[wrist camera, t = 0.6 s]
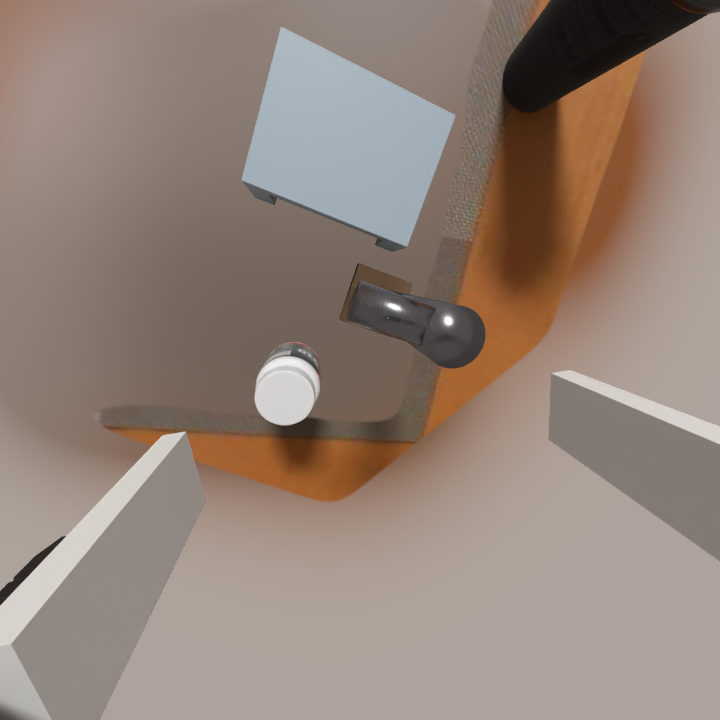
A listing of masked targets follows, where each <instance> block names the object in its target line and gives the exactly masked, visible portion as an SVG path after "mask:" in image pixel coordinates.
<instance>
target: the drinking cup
mask: <svg viewBox="0 0 720 720" xmlns="http://www.w3.org/2000/svg"><path fill="white" fill-rule="evenodd" d="M716 12H720V0H550V2H549V3H548V4H547V6H546V7H545V9H544V10H543V11H542V13H541V14H540V16H539V17H538V18H537V20H536V21H535V23H534V24H533V25H532V27H531V28H530V29H529V31H528V32H527V34H526V35H525V36H524V38H523V39H522V41H521V42H520V43H519V45H518V46H517V47H516V49H515V50H514V52H513V53H512V54H511V56H510V58H509V59H508V61H507V64H506V67H505V71H504V78H503V83H504V90H505V93H506V96H507V98H508V100H509V101H510V103H511V104H512V105H513V106H514V107H515V108H517V109H518V110H520V111H523V112H535V111H538V110H540V109H542V108H544V107H546V106H547V105H549V104H551V103H553V102H554V101H556V100H558V99H560V98H561V97H563V96H565V95H567V94H568V93H570V92H572V91H574V90H576V89H577V88H579V87H581V86H583V85H584V84H586V83H588V82H590V81H591V80H593V79H595V78H597V77H598V76H600V75H602V74H604V73H605V72H607V71H609V70H611V69H613V68H614V67H616V66H618V65H620V64H621V63H623V62H625V61H627V60H628V59H630V58H632V57H634V56H635V55H637V54H639V53H641V52H643V51H644V50H646V49H648V48H650V47H651V46H653V45H655V44H657V43H658V42H660V41H662V40H664V39H665V38H667V37H669V36H671V35H672V34H674V33H676V32H678V31H679V30H681V29H683V28H685V27H687V26H688V25H690V24H692V23H694V22H695V21H697V20H699V19H701V18H703V17H704V16H706V15H708V14H710V13H716Z"/></svg>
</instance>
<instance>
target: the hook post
mask: <svg viewBox="0 0 720 720" xmlns="http://www.w3.org/2000/svg"><path fill="white" fill-rule="evenodd" d="M411 287H412V283H409V282H406V281H404V280H401V279H398V278H396V277H393V276H390V275H388V274H385V273H383V272H380V271H378V270H375V269H372V268H370V267H367V266H364V265H362V264H357V267H356V270H355V273H354V276H353V279H352V282H351V285H350V288H349V291H348V294H347V297H346V300H345V302H344V305H343V308H342V312H341V314H340V317H339V319H340V320H342V321H345V322H348V323H351V324H354V325H357V326H360V327H363V328H366V329H369V330H372V331H375V332H378V333H380V334H384V335H387V336H389V337H395V338H398V339H401V340H404V341H406V342H408V343H409V344H411V345H412V346H413V347H414V348H416V349H417V350H419V351H420V352H421V353H423V354H424V355H425V356H427V357H428V358H429V359H431V360H432V361H433V362H435V363H436V364H438V365H439V366H442V367H445V368H459V367H463V366H465V365H467V364H469V363H470V362H472V361H473V360H474V359H475V358H476V357H477V356H478V354H479V353H480V351H481V350H482V348H483V345H484V341H485V327H484V324H483V321H482V319H481V318H480V316H479V315H478V314H477V313H476V312H475V311H473V310H472V309H470V308H468V307H464V306H460V305H455V304H450V303H446V302H441V301H437V300H432V299H428V298H423V297H418V296H413V295H409V292H410V290H411Z"/></svg>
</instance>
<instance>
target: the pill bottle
mask: <svg viewBox="0 0 720 720" xmlns="http://www.w3.org/2000/svg"><path fill="white" fill-rule="evenodd" d="M319 393H320V363H319V359H318V357H317V355H316V353H315V352H314V351H313V350H312V349H311V348H310V347H308V346H307V345H305V344H301V343H298V342H289V343H285V344H282V345H280V346H278V347H277V348H276V349H275V350H273V352H272V353H271V355H270V356H269V358H268V359H267V361H266V363H265V364H264V366H263V368H262V369H261V371H260V373H259V375H258V377H257V381H256V391H255V404H256V407H257V409H258V411H259V413H260V414H261V415H262V416H263V417H264V418H265V419H266V420H268V421H269V422H271V423H274V424H277V425H292V424H295V423H298V422H300V421H302V420H303V419H304V418H306V417H307V416H308V414H309V413H310V412H311V410H312V408H313V405H314V404H315V402H316V401H317V399H318V396H319Z"/></svg>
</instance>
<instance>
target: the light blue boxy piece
mask: <svg viewBox="0 0 720 720" xmlns="http://www.w3.org/2000/svg"><path fill="white" fill-rule="evenodd" d="M454 118H455V115H454V114H452V113H450V112H448V111H446V110H444V109H442V108H440V107H438V106H436V105H434V104H432V103H430V102H428V101H426V100H424V99H422V98H420V97H418V96H417V95H414V94H413V93H411V92H409V91H407V90H405V89H403V88H400V87H399V86H397V85H395V84H393V83H391V82H389V81H387V80H385V79H383V78H381V77H379V76H377V75H375V74H373V73H371V72H369V71H367V70H365V69H363V68H361V67H359V66H358V65H356V64H354V63H352V62H350V61H348V60H345V59H344V58H342V57H340V56H338V55H336V54H334V53H332V52H330V51H328V50H326V49H324V48H322V47H320V46H318V45H316V44H314V43H312V42H310V41H308V40H306V39H304V38H302V37H300V36H299V35H297V34H294V33H293V32H291V31H289V30H287V29H285V28H283V27H281V29H280V33H279V37H278V41H277V45H276V49H275V52H274V56H273V60H272V64H271V68H270V72H269V76H268V79H267V84H266V88H265V91H264V95H263V99H262V103H261V107H260V110H259V114H258V118H257V122H256V126H255V130H254V134H253V138H252V142H251V145H250V149H249V153H248V157H247V161H246V165H245V169H244V172H243V176H242V181H243V183H244V184H245V185H246V187H247V188H248V189H249V190H250V192H251V193H252V194H253V195H254V197H256V198H258V199H261V200H263V201H266V202H268V203H271V204H273V205H275V202H276V198H279V199H282V200H284V201H287V202H289V203H292V204H294V205H297V206H299V207H301V208H304V209H306V210H309V211H311V212H314V213H317V214H319V215H321V216H324V217H326V218H329V219H331V220H334V221H336V222H339V223H341V224H344V225H346V226H349V227H351V228H354V229H356V230H359V231H361V232H364V233H366V234H369V235H371V236H374V237H376V238H377V241H376V244H375V245H377V246H379V247H382V248H384V249H387V250H390V251H396V250H399V249H403V248H406V247H407V246H408V244H409V241H410V238H411V235H412V233H413V230H414V227H415V224H416V222H417V219H418V216H419V214H420V211H421V208H422V206H423V203H424V200H425V197H426V195H427V191H428V189H429V186H430V184H431V181H432V178H433V175H434V173H435V170H436V167H437V165H438V162H439V159H440V156H441V154H442V151H443V148H444V145H445V143H446V140H447V137H448V135H449V132H450V129H451V126H452V124H453V121H454Z"/></svg>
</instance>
